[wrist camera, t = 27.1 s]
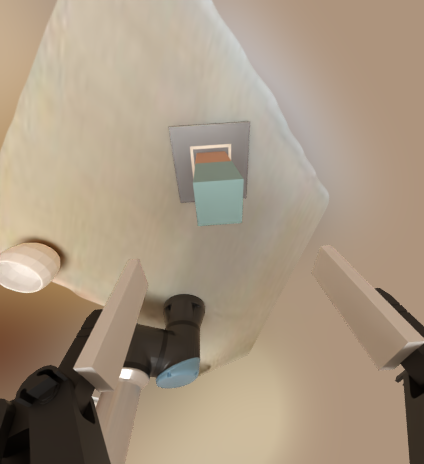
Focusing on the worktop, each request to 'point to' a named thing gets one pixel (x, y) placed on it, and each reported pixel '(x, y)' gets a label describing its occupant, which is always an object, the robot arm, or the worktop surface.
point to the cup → (28, 267)
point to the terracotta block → (212, 157)
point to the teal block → (218, 193)
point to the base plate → (207, 150)
